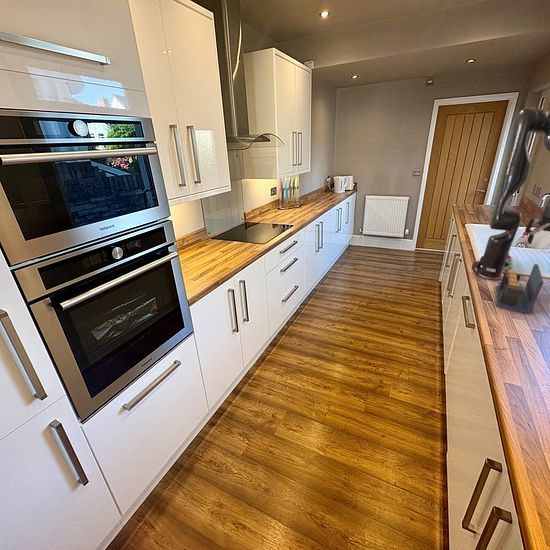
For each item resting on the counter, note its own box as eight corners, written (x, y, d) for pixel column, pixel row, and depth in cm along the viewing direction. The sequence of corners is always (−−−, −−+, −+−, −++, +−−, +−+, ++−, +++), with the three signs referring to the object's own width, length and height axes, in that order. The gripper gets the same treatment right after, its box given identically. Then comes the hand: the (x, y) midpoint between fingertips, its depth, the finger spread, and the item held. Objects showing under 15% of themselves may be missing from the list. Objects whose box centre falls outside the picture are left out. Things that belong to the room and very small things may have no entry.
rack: (496, 287, 135) (506, 259, 129) (526, 293, 130) (538, 264, 123) (496, 306, 121) (507, 275, 115) (530, 314, 115) (543, 282, 109)
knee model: (507, 266, 167) (506, 276, 149) (493, 258, 170) (490, 266, 152) (520, 254, 162) (520, 262, 144) (506, 245, 166) (504, 252, 147)
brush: (503, 275, 131) (506, 268, 130) (517, 277, 128) (520, 270, 127) (504, 295, 115) (507, 287, 113) (520, 298, 112) (523, 291, 111)
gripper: (535, 205, 112) (521, 244, 120) (586, 209, 105) (567, 251, 112) (534, 201, 118) (520, 239, 125) (582, 205, 110) (565, 245, 117)
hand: (543, 245), depth 119 cm, fingers open, 8 cm apart
